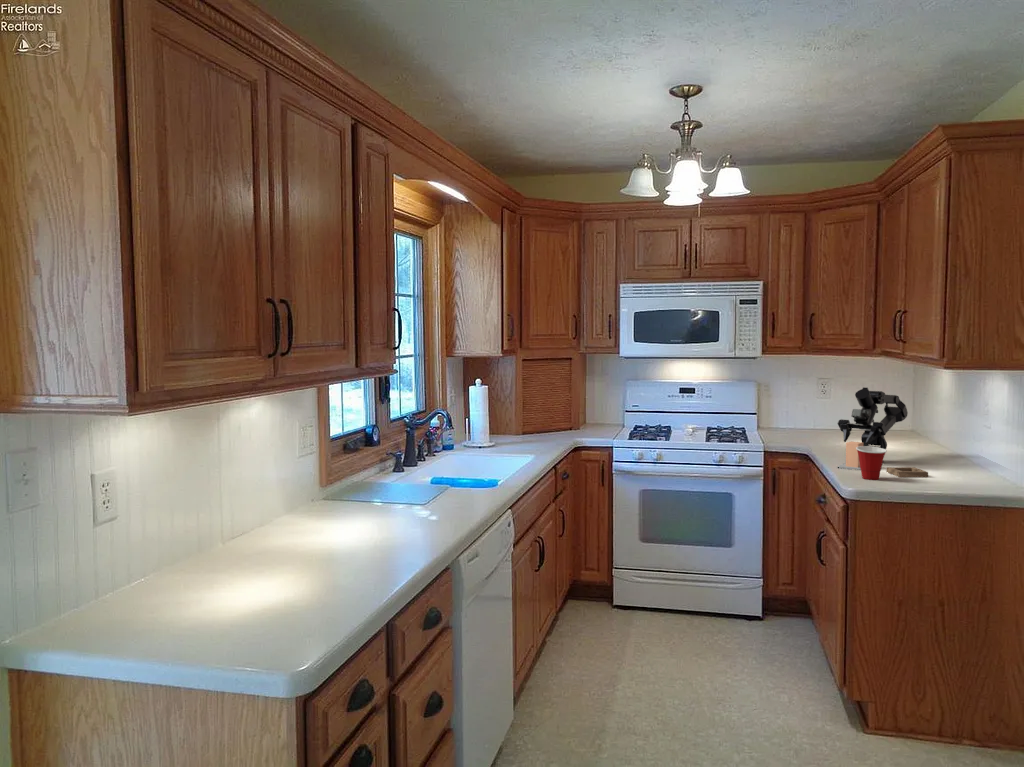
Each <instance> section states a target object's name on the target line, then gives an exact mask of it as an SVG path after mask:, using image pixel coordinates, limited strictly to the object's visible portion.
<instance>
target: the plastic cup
mask: <svg viewBox="0 0 1024 767" xmlns="http://www.w3.org/2000/svg"><path fill="white" fill-rule="evenodd" d="M856 449H857V451H858V456H859V462H860V469H861V470H860V471H861V472H860V474H861V477H862V479H863V480H867V481H868V480H869V481H870V480H871V481H872V480H873V481H876V480H879V479H880V475H881V471H882V467H883V463H884V462H883V460H884V458H885V455H886V453H887V452H888V451H887V448H886V449H883V448H879V447H871V446H859V447H856Z"/></svg>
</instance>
